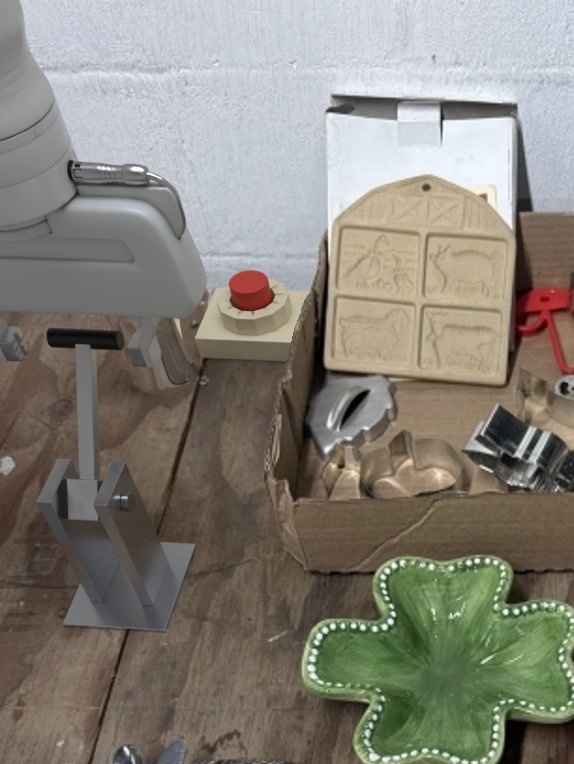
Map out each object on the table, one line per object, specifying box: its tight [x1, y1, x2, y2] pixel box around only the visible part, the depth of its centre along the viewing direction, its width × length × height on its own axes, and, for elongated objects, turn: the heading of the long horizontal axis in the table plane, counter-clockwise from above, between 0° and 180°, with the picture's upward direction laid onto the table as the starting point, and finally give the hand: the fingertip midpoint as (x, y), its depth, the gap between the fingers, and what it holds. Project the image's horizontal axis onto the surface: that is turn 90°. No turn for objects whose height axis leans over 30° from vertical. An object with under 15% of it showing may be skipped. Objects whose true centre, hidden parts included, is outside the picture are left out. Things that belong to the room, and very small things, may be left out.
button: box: [228, 269, 272, 311], centre depth 100 cm, size 4×4×2 cm
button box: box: [194, 277, 310, 362], centre depth 102 cm, size 10×8×4 cm
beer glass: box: [101, 315, 200, 396], centre depth 93 cm, size 7×7×15 cm
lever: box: [45, 327, 124, 521], centre depth 75 cm, size 13×5×2 cm
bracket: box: [36, 458, 197, 633], centre depth 80 cm, size 9×8×12 cm
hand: (82, 359), depth 74 cm, fingers open, 8 cm apart
